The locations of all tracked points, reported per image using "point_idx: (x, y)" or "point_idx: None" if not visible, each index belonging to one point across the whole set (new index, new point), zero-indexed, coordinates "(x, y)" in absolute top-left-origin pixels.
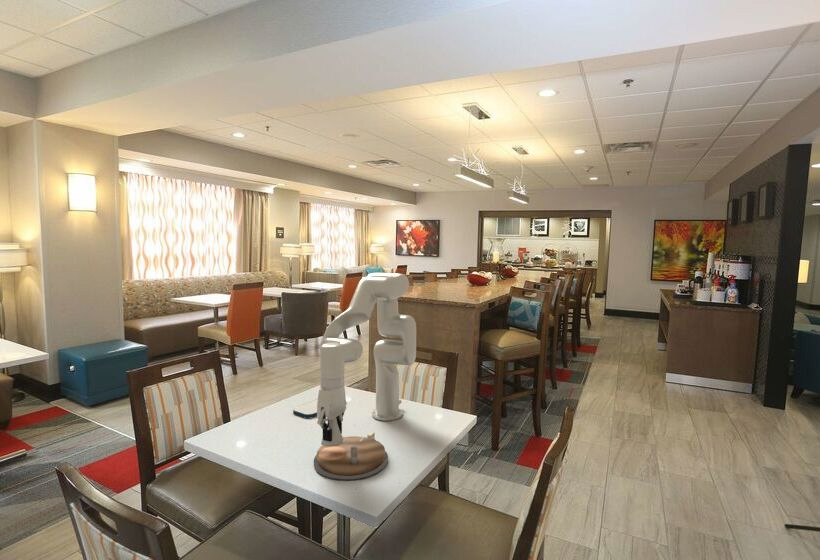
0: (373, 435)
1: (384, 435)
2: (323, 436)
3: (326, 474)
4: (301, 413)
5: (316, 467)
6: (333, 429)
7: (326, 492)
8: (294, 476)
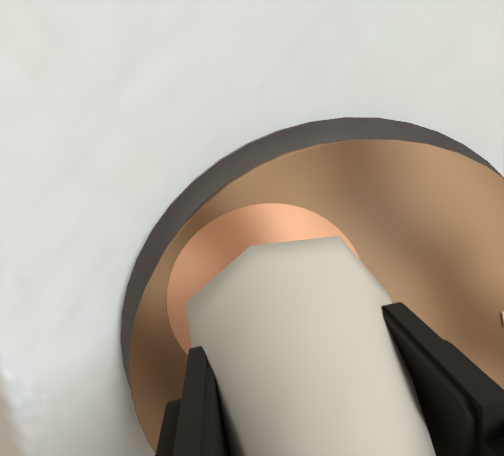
0: None
1: None
2: (163, 416)
3: (126, 367)
4: None
5: (136, 272)
6: None
7: (47, 442)
8: (6, 213)
